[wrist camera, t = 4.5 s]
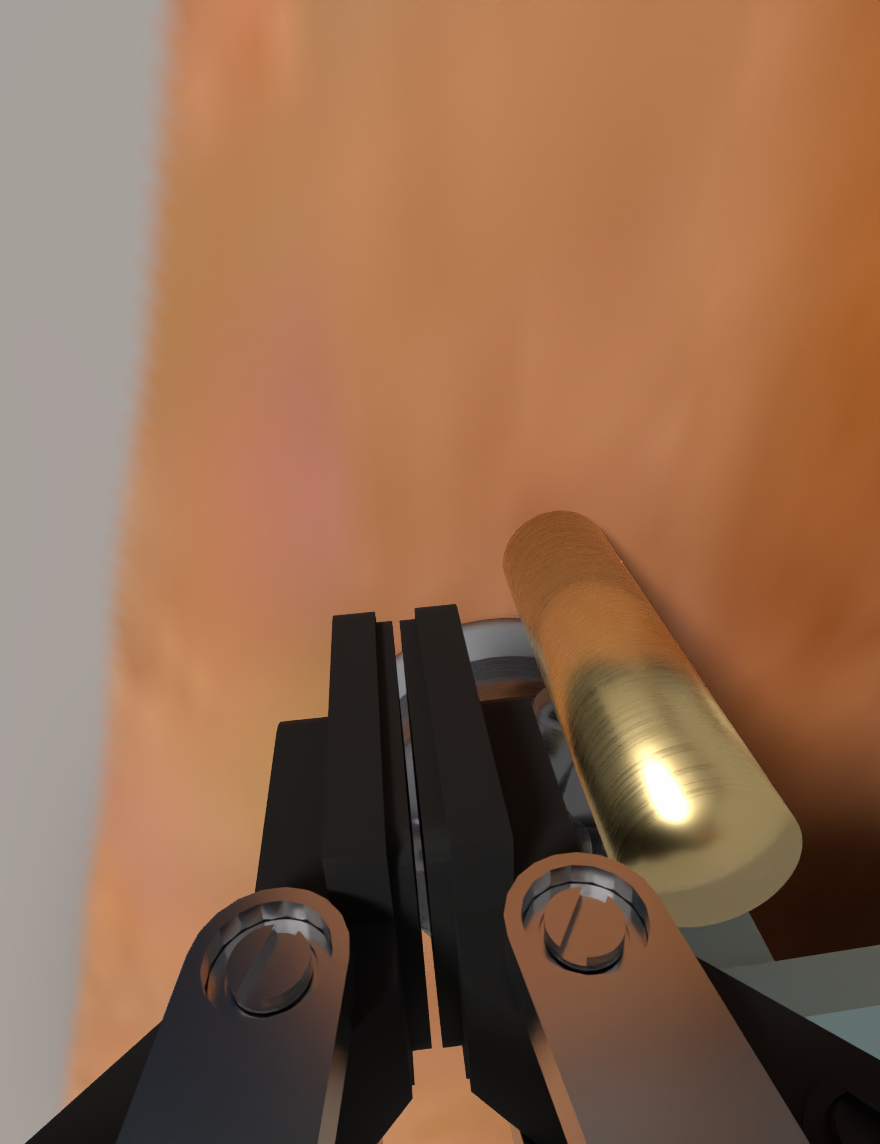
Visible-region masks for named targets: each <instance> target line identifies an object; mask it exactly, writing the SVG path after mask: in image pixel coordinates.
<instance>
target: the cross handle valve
mask: <svg viewBox="0 0 880 1144" xmlns="http://www.w3.org/2000/svg"><path fill="white" fill-rule="evenodd" d="M503 568H504V574H505V577H506V580H507V583H508V586H509V588H510V591H511V594H512V597H513V599H514V602H515V605H516V608H517V610H518V613H519V616H520V618H521V621H522V624H523V627H524V629H525V632H526V635H527V638H528V640H529V643H530V646H531V648H532V651H533V654H534V657H530V656H503V657H491V658H486V659H481V660H475V661H471V662H470V663H471V667H472V671H473V675H474V679H475V683H476V687H477V691H478V695H479V699H480V701H485V700H494V699H503V698H512V697H521V696H526V697H527V698H528V699H529V701H530V703H531V705H532V708H533V711H534V714H535V717H536V720H537V723H538V726H539V729H540V732H541V735H542V738H543V741H544V744H545V746H546V749H547V752H548V755H549V758H550V761H551V764H552V767H553V770H554V773H555V776H556V779H557V782H558V785H559V788H560V791H561V794H562V797H563V800H564V803H565V806H566V808H567V811H568V814H569V817H570V820H571V823H572V826H573V829H574V832H575V835H576V838H577V841H578V844H579V847H580V850H581V853H588V854H595V855H601V856H604V857H607V858H609V859H612V860H614V861H617V862H620V863H622V864H624V865H626V866H627V867H628V868H630V869H631V870H633V871H634V872H636V873H637V874H638V875H640V876H641V877H643V878H644V879H645V881H646V882H647V883H648V884H649V885H650V887H651V888H652V889H653V890H654V891H655V893H656V894H657V895H658V896H659V898H660V899H661V901H662V903H663V904H664V906H665V908H666V909H667V911H668V912H669V914H670V916H671V917H672V919H673V921H674V922H675V924H676V926H677V927H682V928H684V927H701V926H707V925H713V924H717V923H721V922H724V921H727V920H730V919H733V918H736V917H738V916H740V915H742V914H745V913H747V912H749V911H751V910H752V909H754V908H756V907H758V906H759V905H761V904H762V903H764V902H765V901H766V900H768V899H769V898H770V897H771V896H773V895H774V894H775V893H776V892H777V891H778V890H779V889H780V888H781V887H782V886H783V885H784V884H785V883H786V882H787V880H788V879H789V878H790V876H791V875H792V873H793V872H794V870H795V868H796V866H797V864H798V861H799V859H800V855H801V852H802V834H801V830H800V827H799V825H798V823H797V821H796V819H795V818H794V816H793V815H792V813H791V812H790V810H789V809H788V807H787V806H786V804H785V803H784V801H783V800H782V798H781V797H780V795H779V794H778V792H777V791H776V789H775V788H774V787H773V785H772V784H771V782H770V781H769V779H768V778H767V776H766V775H765V773H764V772H763V770H762V769H761V767H760V766H759V764H758V763H757V761H756V760H755V758H754V757H753V755H752V754H751V752H750V751H749V749H748V748H747V746H746V745H745V743H744V742H743V740H742V739H741V737H740V736H739V735H738V733H737V732H736V730H735V729H734V727H733V726H732V724H731V723H730V721H729V720H728V718H727V717H726V715H725V714H724V712H723V711H722V709H721V708H720V706H719V705H718V703H717V702H716V700H715V699H714V697H713V696H712V694H711V693H710V691H709V690H708V688H707V687H706V685H705V684H704V683H703V681H702V680H701V678H700V677H699V675H698V674H697V672H696V671H695V669H694V668H693V666H692V665H691V663H690V662H689V660H688V659H687V657H686V656H685V654H684V653H683V651H682V650H681V648H680V647H679V645H678V644H677V642H676V641H675V639H674V638H673V636H672V635H671V634H670V632H669V631H668V629H667V628H666V626H665V625H664V623H663V622H662V620H661V619H660V617H659V616H658V614H657V613H656V611H655V610H654V608H653V607H652V605H651V604H650V602H649V601H648V599H647V598H646V596H645V595H644V593H643V592H642V590H641V589H640V587H639V586H638V584H637V583H636V582H635V580H634V579H633V577H632V576H631V574H630V573H629V571H628V570H627V568H626V567H625V565H624V564H623V562H622V561H621V559H620V558H619V556H618V555H617V553H616V552H615V550H614V549H613V547H612V546H611V544H610V543H609V541H608V540H607V538H606V537H605V535H604V534H603V532H602V531H601V530H600V528H599V527H598V526H597V525H596V524H595V523H594V522H593V521H592V520H590V519H589V518H587V517H585V516H583V515H581V514H578V513H575V512H570V511H553V512H548V513H544V514H541V515H539V516H536V517H534V518H532V519H531V520H529V521H527V522H526V523H525V524H524V525H522V526H521V527H520V528H519V529H518V530H517V531H516V532H515V534H514V535H513V536H512V538H511V539H510V541H509V543H508V545H507V547H506V550H505V553H504V559H503ZM400 706H401V717H402V727H403V737H404V747H405V757H406V767H407V777H408V787H409V798H410V809H411V820H412V831H413V843H414V854H415V865H416V876H417V887H418V899H419V910H420V921H421V929H422V930H423V931H424V932H425V933H426V934H428V935H429V936H430V937H431V932H430V922H429V913H428V904H427V894H426V885H425V875H424V866H423V857H422V847H421V838H420V828H419V819H418V809H417V800H416V790H415V780H414V769H413V759H412V748H411V737H410V727H409V716H408V705H407V695H406V694H405V695H404V696H403V697H401V698H400Z"/></svg>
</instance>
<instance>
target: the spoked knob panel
mask: <svg viewBox="0 0 880 1144" xmlns="http://www.w3.org/2000/svg"><path fill="white" fill-rule="evenodd" d="M461 626H462V630H463V634H464V638H465V642H466V646H467V650H468V654H469V659H470V662H471V661H475V660H481V659H486V658H491V657H503V656H530V657H534V654H533V651H532V648H531V646H530V643H529V640H528V638H527V635H526V632H525V629H524V627H523V624H522V621H521V619H516V618H500V619H488V620H480V621H475V622H470V623H465V624H461ZM396 666H397V676H398V686H399V696H400V698H401V697H403V696H404V695H405V694H406V684H405V674H404V663H403V652H400V653H399V654H398V655H396ZM678 929H679V930H680V932H681V934H682V935H683V937H684V939H685V940H686V942H687V944H688V945H689V947H690V948H691V950H692V952H693V953H694V955H695V956H696V957H698V958H700V959H702V960H703V961H705V962H707V963H709V964H711V965H712V966H714V967H716V968H718V969H719V970H721V971H723V972H725V973H727V974H728V975H730V976H732V977H734V978H735V979H737V980H739V981H741V982H743V983H744V984H746V985H748V986H750V987H751V988H753V989H755V990H757V991H759V992H760V993H762V994H764V995H766V996H767V997H769V998H771V999H773V1000H774V1001H776V1002H778V1003H780V1004H782V1005H783V1006H785V1007H787V1008H789V1009H790V1010H792V1011H794V1012H796V1013H798V1014H799V1015H801V1016H803V1017H805V1018H806V1019H808V1020H810V1021H812V1022H814V1023H815V1024H817V1025H819V1026H821V1027H822V1028H824V1029H826V1030H828V1031H829V1032H831V1033H833V1034H835V1035H837V1036H838V1037H840V1038H842V1039H844V1040H845V1041H847V1042H849V1043H851V1044H853V1045H854V1046H856V1047H858V1048H860V1049H861V1050H863V1051H865V1052H867V1053H869V1054H870V1055H872V1056H874V1057H876V1058H877V1059H879V1060H880V945H876V946H869V947H863V948H856V949H850V950H844V951H837V952H831V953H825V954H818V955H812V956H805V957H799V958H793V959H786V960H780V961H774V959H773V957H772V955H771V953H770V951H769V950H768V948H767V946H766V944H765V942H764V940H763V938H762V936H761V934H760V932H759V931H758V929H757V927H756V925H755V923H754V921H753V919H752V917H751V915H750V913H749V912H747V913H745V914H742V915H740V916H738V917H736V918H733V919H730V920H727V921H724V922H721V923H717V924H713V925H707V926H701V927H684V928H682V927H678Z"/></svg>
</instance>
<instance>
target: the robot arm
mask: <svg viewBox="0 0 880 1144" xmlns="http://www.w3.org/2000/svg"><path fill="white" fill-rule="evenodd" d="M400 631H401V642H402V652H403V663H404V674H405V684H406V695H407V705H408V716H409V727H410V737H411V748H412V759H413V769H414V780H415V790H416V800H417V809H418V819H419V828H420V838H421V847H422V857H423V866H424V875H425V885H426V894H427V904H428V913H429V922H430V932H431V941H432V951H433V960H434V969H435V979H436V988H437V998H438V1007H439V1016H440V1026H441V1035H442V1044H443V1048H446V1047H453V1046H460V1045H462V1047H463V1055H464V1063H465V1071H466V1078H467V1079H469V1078H470V1085H471V1092H473V1093H474V1094H475V1095H476V1096H477V1097H479V1098H480V1099H481V1100H482V1101H484V1102H485V1103H486V1104H487V1105H489V1106H490V1107H491V1108H492V1109H494V1110H495V1111H496V1112H497V1113H499V1114H500V1115H501V1116H502V1117H503V1118H505V1119H506V1120H507V1121H508V1122H510V1126H511V1132H512V1138H513V1141H514V1144H880V1060H879V1059H877V1058H876V1057H874V1056H872V1055H870V1054H869V1053H867V1052H865V1051H863V1050H861V1049H860V1048H858V1047H856V1046H854V1045H853V1044H851V1043H849V1042H847V1041H845V1040H844V1039H842V1038H840V1037H838V1036H837V1035H835V1034H833V1033H831V1032H829V1031H828V1030H826V1029H824V1028H822V1027H821V1026H819V1025H817V1024H815V1023H814V1022H812V1021H810V1020H808V1019H806V1018H805V1017H803V1016H801V1015H799V1014H798V1013H796V1012H794V1011H792V1010H790V1009H789V1008H787V1007H785V1006H783V1005H782V1004H780V1003H778V1002H776V1001H774V1000H773V999H771V998H769V997H767V996H766V995H764V994H762V993H760V992H759V991H757V990H755V989H753V988H751V987H750V986H748V985H746V984H744V983H743V982H741V981H739V980H737V979H735V978H734V977H732V976H730V975H728V974H727V973H725V972H723V971H721V970H719V969H718V968H716V967H714V966H712V965H711V964H709V963H707V962H705V961H703V960H702V959H700V958H698V957H696V956H695V955H694V953H693V952H692V950H691V948H690V947H689V945H688V944H687V942H686V940H685V939H684V937H683V935H682V934H681V932H680V930H679V929H678V927H677V926H676V924H675V922H674V921H673V919H672V917H671V916H670V914H669V912H668V911H667V909H666V908H665V906H664V904H663V903H662V901H661V899H660V898H659V896H658V895H657V894H656V893H655V891H654V890H653V889H652V888H651V887H650V885H649V884H648V883H647V882H646V881H645V879H644V878H643V877H641V876H640V875H638V874H637V873H636V872H634V871H633V870H631V869H630V868H628V867H627V866H626V865H624V864H622V863H620V862H617V861H614V860H612V859H609V858H607V857H604V856H601V855H595V854H588V853H581V850H580V847H579V844H578V841H577V838H576V835H575V832H574V829H573V826H572V823H571V820H570V817H569V814H568V811H567V808H566V806H565V803H564V800H563V797H562V794H561V791H560V788H559V785H558V782H557V779H556V776H555V773H554V770H553V767H552V764H551V761H550V758H549V755H548V752H547V749H546V746H545V744H544V741H543V738H542V735H541V732H540V729H539V726H538V723H537V720H536V717H535V714H534V711H533V708H532V705H531V703H530V701H529V699H528V698H527V697H526V696H521V697H512V698H503V699H494V700H485V701H480V699H479V695H478V691H477V687H476V683H475V679H474V675H473V671H472V667H471V663H470V659H469V654H468V650H467V646H466V642H465V638H464V634H463V630H462V626H461V622H460V618H459V614H458V609H457V606H456V604H451V605H441V606H431V607H421V608H415V619H411V620H402V621H400ZM430 1048H432V1044H431V1033H430V1022H429V1010H428V999H427V988H426V977H425V966H424V954H423V943H422V932H421V921H420V910H419V899H418V887H417V876H416V865H415V854H414V843H413V831H412V820H411V809H410V798H409V787H408V777H407V767H406V757H405V747H404V737H403V727H402V717H401V706H400V696H399V686H398V676H397V666H396V656H395V646H394V636H393V626H392V621H386V622H376V617H375V612H366V613H356V614H346V615H336V616H333V621H332V643H331V665H330V687H329V710H328V717H322V718H312V719H303V720H293V721H284V722H280V723H279V725H278V728H277V733H276V740H275V748H274V755H273V762H272V770H271V777H270V785H269V792H268V799H267V807H266V814H265V822H264V829H263V836H262V844H261V851H260V859H259V866H258V873H257V881H256V888H255V893H253V894H250V895H248V896H245V897H242V898H240V899H238V900H236V901H235V902H233V903H232V904H230V905H229V906H227V907H226V908H224V909H223V910H221V911H220V912H218V913H217V914H216V915H215V916H214V917H213V918H212V919H211V920H210V921H209V922H208V923H207V924H206V925H205V926H204V927H203V929H202V930H201V931H200V932H199V933H198V935H197V937H196V939H195V940H194V942H193V944H192V946H191V948H190V950H189V951H188V953H187V955H186V958H185V960H184V963H183V966H182V968H181V971H180V974H179V976H178V979H177V982H176V984H175V987H174V990H173V992H172V995H171V998H170V1000H169V1003H168V1006H167V1008H166V1011H165V1014H164V1016H163V1019H162V1021H161V1022H160V1023H159V1024H158V1025H157V1026H156V1027H155V1028H153V1029H152V1030H151V1031H150V1032H149V1033H148V1034H147V1035H146V1036H144V1037H143V1038H142V1039H141V1040H140V1041H139V1042H138V1043H137V1044H136V1045H134V1046H133V1047H132V1048H131V1049H130V1050H129V1051H128V1052H127V1053H125V1054H124V1055H123V1056H122V1057H121V1058H120V1059H119V1060H118V1061H117V1062H115V1063H114V1064H113V1065H112V1066H111V1067H110V1068H109V1069H108V1070H107V1071H105V1072H104V1073H103V1074H102V1075H101V1076H100V1077H99V1078H98V1079H96V1080H95V1081H94V1082H93V1083H92V1084H91V1085H90V1086H89V1087H88V1088H86V1089H85V1090H84V1091H83V1092H82V1093H81V1094H80V1095H79V1096H77V1097H76V1098H75V1099H74V1100H73V1101H72V1102H71V1103H70V1104H69V1105H67V1106H66V1107H65V1108H64V1109H63V1110H62V1111H61V1112H60V1113H59V1114H57V1115H56V1116H55V1117H54V1118H53V1119H52V1120H51V1121H50V1122H49V1123H47V1124H46V1125H45V1126H44V1127H43V1128H42V1129H41V1130H40V1131H38V1132H37V1133H36V1134H35V1135H34V1136H33V1137H32V1138H31V1139H30V1140H28V1141H27V1142H26V1143H25V1144H383V1136H384V1135H385V1133H386V1132H387V1131H388V1129H389V1128H390V1127H391V1126H392V1124H393V1123H394V1122H395V1120H396V1119H397V1118H398V1117H399V1115H400V1114H401V1113H402V1111H403V1110H404V1109H405V1107H406V1106H407V1105H408V1104H409V1102H410V1101H411V1100H412V1098H413V1097H412V1085H415V1082H414V1068H413V1053H412V1051H415V1050H422V1049H430Z"/></svg>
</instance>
